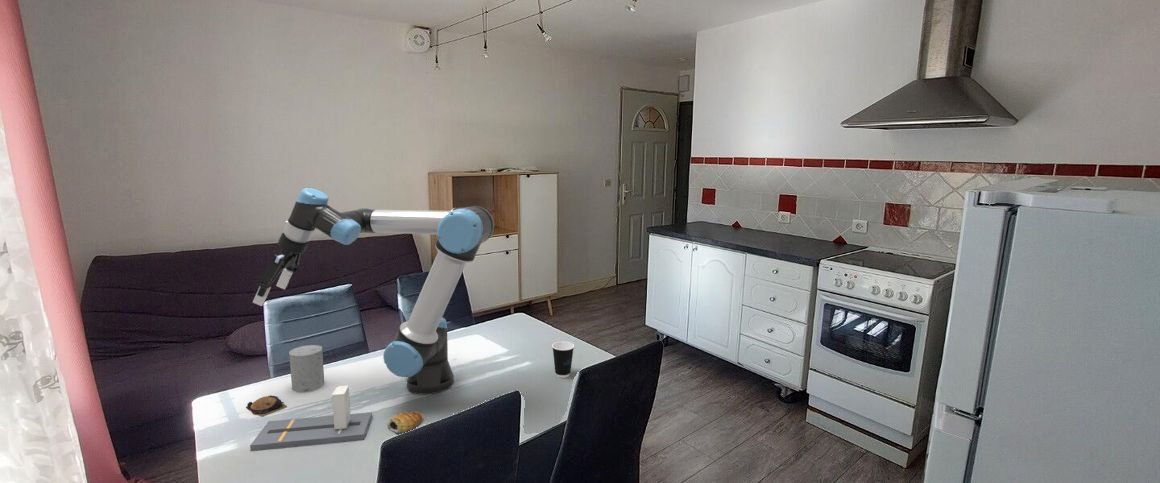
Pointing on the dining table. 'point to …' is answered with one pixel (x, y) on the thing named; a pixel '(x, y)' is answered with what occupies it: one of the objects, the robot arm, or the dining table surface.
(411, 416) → the pastry
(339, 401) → the fader tab
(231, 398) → the dining table surface
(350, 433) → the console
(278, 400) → the wood slice
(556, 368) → the dixie cup
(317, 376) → the grey concrete cylinder
